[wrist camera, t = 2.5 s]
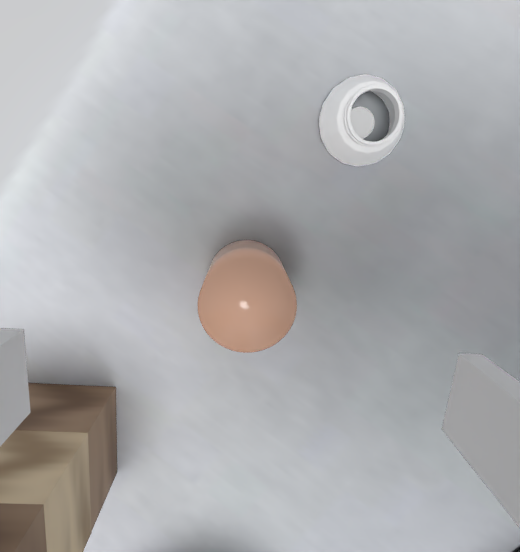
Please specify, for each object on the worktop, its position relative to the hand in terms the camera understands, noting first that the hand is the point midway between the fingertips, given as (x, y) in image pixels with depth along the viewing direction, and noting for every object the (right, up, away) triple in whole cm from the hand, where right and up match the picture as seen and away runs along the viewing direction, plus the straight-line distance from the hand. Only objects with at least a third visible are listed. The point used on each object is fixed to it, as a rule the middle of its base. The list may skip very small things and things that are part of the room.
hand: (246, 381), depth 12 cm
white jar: (+6, +13, +12) cm, 18 cm away
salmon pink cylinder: (0, +3, +14) cm, 14 cm away
